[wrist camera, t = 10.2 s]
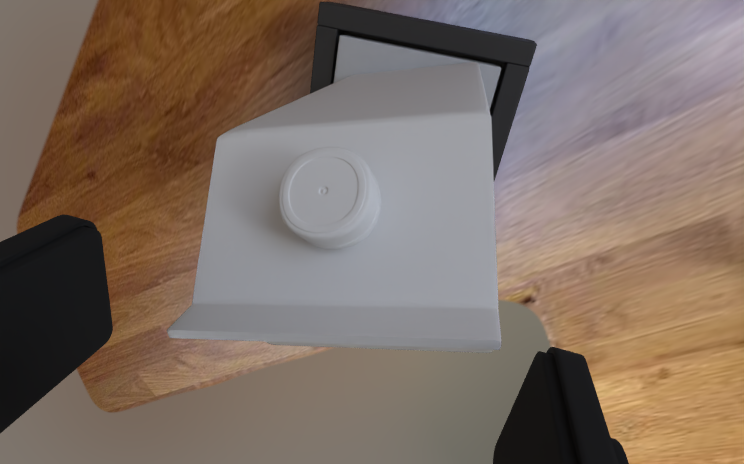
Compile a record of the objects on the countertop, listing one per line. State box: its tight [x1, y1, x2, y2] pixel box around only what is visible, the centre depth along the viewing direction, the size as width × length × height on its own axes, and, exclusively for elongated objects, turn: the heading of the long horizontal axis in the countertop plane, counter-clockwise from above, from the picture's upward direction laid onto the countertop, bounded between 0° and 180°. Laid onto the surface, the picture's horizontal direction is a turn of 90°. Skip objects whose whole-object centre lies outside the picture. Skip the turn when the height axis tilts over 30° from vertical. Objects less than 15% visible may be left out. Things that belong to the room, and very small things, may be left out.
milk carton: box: [167, 62, 501, 353], centre depth 17 cm, size 7×7×19 cm
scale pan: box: [334, 35, 501, 110], centre depth 27 cm, size 9×9×2 cm
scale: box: [310, 2, 537, 180], centre depth 28 cm, size 12×12×4 cm
